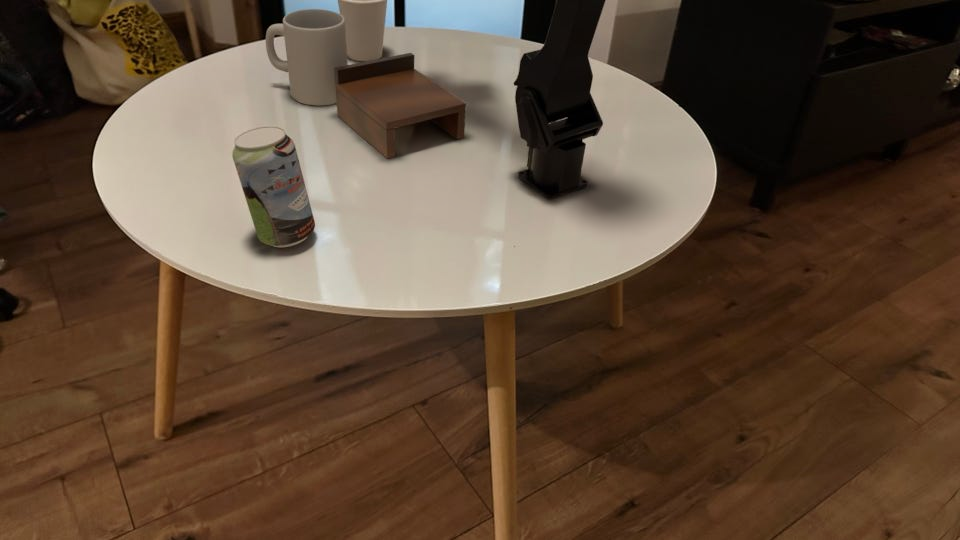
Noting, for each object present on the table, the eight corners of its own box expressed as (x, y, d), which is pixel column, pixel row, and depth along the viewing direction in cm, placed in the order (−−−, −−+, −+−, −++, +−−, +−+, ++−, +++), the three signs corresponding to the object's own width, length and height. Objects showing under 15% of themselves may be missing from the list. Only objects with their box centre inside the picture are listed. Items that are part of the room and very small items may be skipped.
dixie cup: (372, 42, 120) (370, -19, 114) (399, 58, 115) (399, -4, 109) (329, 51, 115) (325, -11, 109) (356, 68, 110) (353, 4, 104)
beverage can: (302, 259, 71) (290, 156, 64) (236, 247, 72) (215, 144, 65) (325, 225, 76) (316, 126, 69) (262, 215, 77) (246, 115, 70)
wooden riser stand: (464, 137, 94) (466, 88, 90) (387, 159, 89) (386, 108, 84) (410, 98, 103) (410, 52, 99) (337, 115, 97) (333, 67, 93)
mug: (358, 86, 105) (354, 13, 98) (336, 110, 99) (330, 33, 92) (285, 74, 107) (276, 1, 100) (258, 96, 100) (247, 20, 94)
